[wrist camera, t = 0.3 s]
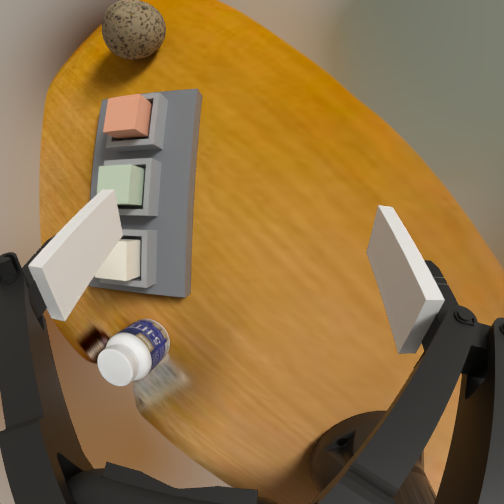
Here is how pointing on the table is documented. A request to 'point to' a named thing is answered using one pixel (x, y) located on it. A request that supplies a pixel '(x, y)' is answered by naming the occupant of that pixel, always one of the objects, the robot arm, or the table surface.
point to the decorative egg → (133, 29)
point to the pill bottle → (133, 352)
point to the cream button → (122, 261)
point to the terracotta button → (127, 117)
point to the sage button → (122, 182)
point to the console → (157, 192)
